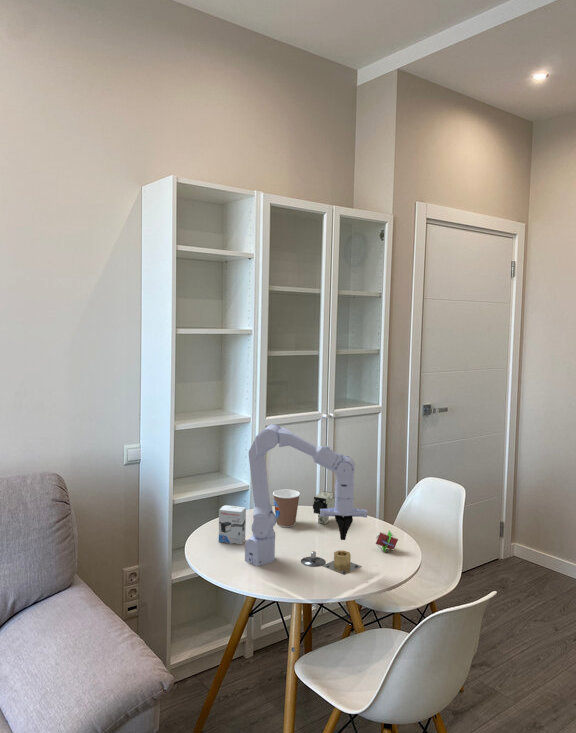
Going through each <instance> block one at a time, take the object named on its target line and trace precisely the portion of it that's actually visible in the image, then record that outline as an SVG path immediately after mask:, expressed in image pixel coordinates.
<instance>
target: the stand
mask: <svg viewBox="0 0 576 733" xmlns="http://www.w3.org/2000/svg"><path fill="white" fill-rule="evenodd" d="M300 563H301V564H302V565H303V566H306V567H310V568H319V567H323V565H325V564H327V561H326V560H325V559H324V558H322V557H320V556H317V552H316V551H310V556H305V557H303V558H302V559H300Z"/></svg>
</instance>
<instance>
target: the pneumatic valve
mask: <svg viewBox="0 0 576 733" xmlns="http://www.w3.org/2000/svg"><path fill="white" fill-rule="evenodd" d="M328 508H335V492H331V491H325V490H322V491H321V492H320V493H318V494H317V495H315V496H314V497H313V504H312V509H313V514H317V517H318V518H317V523H318V524H322V525H326V524H328V523H329V522H330V520H329V518H330V516H324V517H321V516H320V509H328Z"/></svg>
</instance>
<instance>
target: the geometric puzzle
mask: <svg viewBox="0 0 576 733" xmlns="http://www.w3.org/2000/svg"><path fill="white" fill-rule="evenodd" d="M398 541H399V538H396V536H394V535H393V533H392V532H391V530H388V533H387V531H385V532H378V533H377V534H376V536H375V543H374V544H375V545H376V546H378V548H381V547H382V548H383V550H384V551H383V550H382V551H383V553H384V552H386V550H388V549H389V550H391V549H394V550H395V548H396V546H397V543H398ZM382 548H381V549H382Z"/></svg>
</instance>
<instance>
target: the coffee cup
mask: <svg viewBox="0 0 576 733" xmlns="http://www.w3.org/2000/svg"><path fill="white" fill-rule="evenodd" d="M272 496H273V504H274V514H275V516H276V525H277V526H278V527H281V528H291V527H294V526H296V523H297V522H296V521H297V513H298V506H299V500H300V496H301V493H300V492H299V491H298V490H294V489H284V488H283V489H282V488H281V489H278V490H277V489H276V490H275V491H273V492H272Z"/></svg>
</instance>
